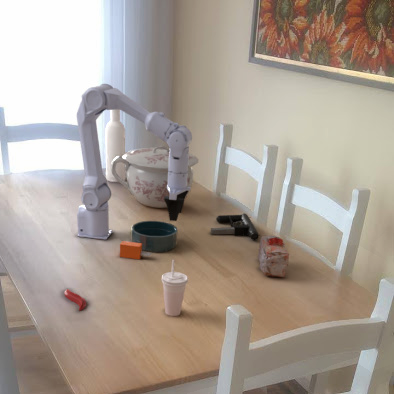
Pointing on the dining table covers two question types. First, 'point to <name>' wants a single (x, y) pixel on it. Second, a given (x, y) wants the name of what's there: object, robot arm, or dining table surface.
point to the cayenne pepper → (75, 299)
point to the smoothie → (174, 291)
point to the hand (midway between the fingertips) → (175, 216)
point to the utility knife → (132, 250)
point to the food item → (273, 256)
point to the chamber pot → (149, 174)
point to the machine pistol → (236, 226)
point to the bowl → (154, 235)
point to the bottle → (115, 146)
